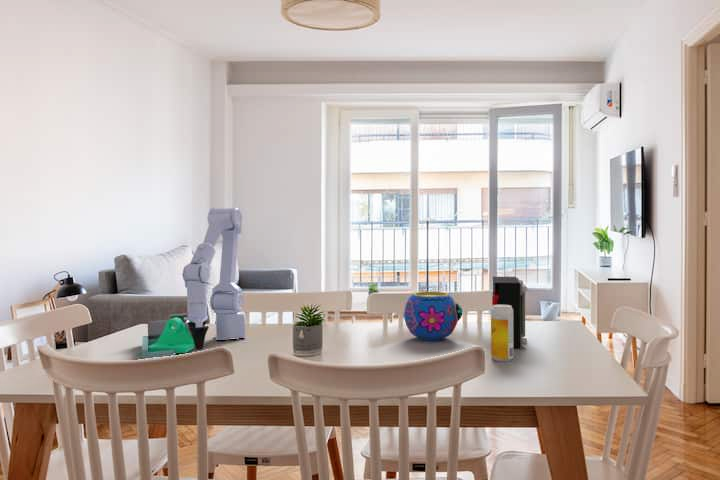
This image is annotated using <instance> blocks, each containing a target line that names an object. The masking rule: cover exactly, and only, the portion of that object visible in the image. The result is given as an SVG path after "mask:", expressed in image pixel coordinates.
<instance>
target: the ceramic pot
mask: <svg viewBox="0 0 720 480" xmlns="http://www.w3.org/2000/svg"><path fill="white" fill-rule="evenodd" d="M462 315H463V308H462V307H461V305H460V304H459V303H456V301H455V300H454V299H453V297H452V296H451V295H450V294H449V293H447V292H443V291H419V292H415V293H413V294H411V295H410V297H409V298H408V299H407V302H406V303H405V306H404V311H403V317H404V318H403V319H404V322H405V326H406V327H407V330H408V331H409V333H410V334H411V335H412V336H413V337H414V336H415V337H416V338H418V339H420V340H425V341H428V342H429V341H431V342H433V341H440V340H443V339H446V338H447V337H448V336H450V335H451V334H453V332H454V331H455V328H456V326H457V325H458V322H459V321H460V319H461V318H462Z"/></svg>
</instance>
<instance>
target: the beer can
mask: <svg viewBox="0 0 720 480" xmlns="http://www.w3.org/2000/svg"><path fill="white" fill-rule="evenodd" d="M490 356H491V358H492V359H493V360H494V361H496V362H511V361H512V360H513V358H514V349H513V309H512V306H511V305H503V304H499V305H492V304H491V308H490Z"/></svg>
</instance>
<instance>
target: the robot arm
mask: <svg viewBox="0 0 720 480" xmlns="http://www.w3.org/2000/svg"><path fill="white" fill-rule="evenodd" d="M241 212H242V211H241V210H240V209H239V208H238V207H223V208H222V207H218V208H217V207H216V208H215V207H212V208H210V210H209V211H208V214H207V222H208V226H207V229H206V230H207V231H206V233H205V236H204V239H203V242H202V243H199V244H198V245H197V247H196V250H195V251H194V253H193V256H192V258H191V260H190V263H188V264H187V265H185V266H184V267H183V270H182V273H181V275H182V279H183V281H184V286H185V288H186V300H187V304H186V305H187V307H186V308H187V317H184V320H188V321H191V322H187V323H188V325H189V330H190V331H191V333H192V337H193V340H194V346H195V348H194V349H195V350H196V351H197V350H198V351H200V350H203V349H204V346H205V339H206V335H207V333H208V332H207V331H208V330H209V325H206V323H207V321H208V320H209V316H208V299H207V295H208V294H207V282H208V281H209V279H210V277H211V269H212V268H211V264H212V261H213V259H214V257H215V253H216V249H215V248H214V247H215V246H216V243H217V242H218V239H219V238H220V236H222V245H221V256H220V268H219V269H220V271H219V282H218V284H216V285H215V286H214V287H212V291H211V296H210V299H209V306H210V309H211V310H212V311H213V313H214V314H215V320H216V321H215V329H216V330H215V331H216V335H214V339H215V338H216V339H215V341H216V340H225V339H231V338H235V339H236V338H245V339H246V320H245V312H244V311H241V310H242V308H243V305H244V297H243V289H242V288H241V287H240V286H239V285H237V284H236V275H237V274H236V273H237V261H238V260H237V259H238V247H239V245H238V242H239V234H241V233H242V229H243V228H242V227H243V226H242V225H243V214H242V213H241ZM205 325H206V326H205Z"/></svg>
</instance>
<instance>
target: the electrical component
mask: <svg viewBox="0 0 720 480" xmlns="http://www.w3.org/2000/svg"><path fill="white" fill-rule="evenodd" d="M523 280H524V279H523ZM523 280H522V279H520V278H519V277H516V276H492V292H491V294H492V299H491V300H492V303H491V306H492V305H499V304H503V305H511V306H512V309H513V350H521V349H523V346H527V345H528V339H527V338H526V292H527V291H528V286H527V285H526V284H524V281H523Z"/></svg>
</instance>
